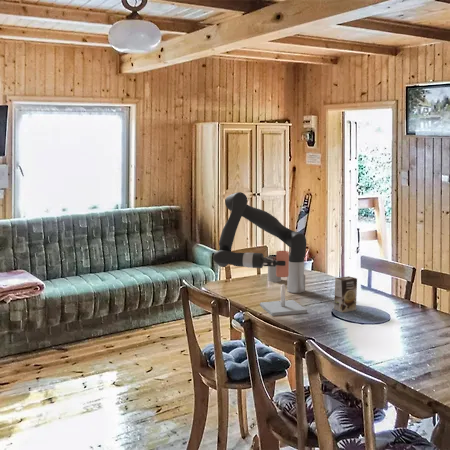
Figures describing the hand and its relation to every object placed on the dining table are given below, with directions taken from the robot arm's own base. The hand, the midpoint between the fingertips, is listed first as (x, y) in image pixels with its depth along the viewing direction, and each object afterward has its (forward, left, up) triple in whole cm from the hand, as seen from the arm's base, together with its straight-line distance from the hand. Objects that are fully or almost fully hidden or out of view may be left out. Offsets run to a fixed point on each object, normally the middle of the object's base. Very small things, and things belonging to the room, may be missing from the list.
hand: (286, 262), depth 268 cm
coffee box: (-28, +9, -24) cm, 38 cm away
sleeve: (+2, -1, -7) cm, 7 cm away
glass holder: (-18, -59, -24) cm, 66 cm away
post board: (+1, -1, -24) cm, 24 cm away
